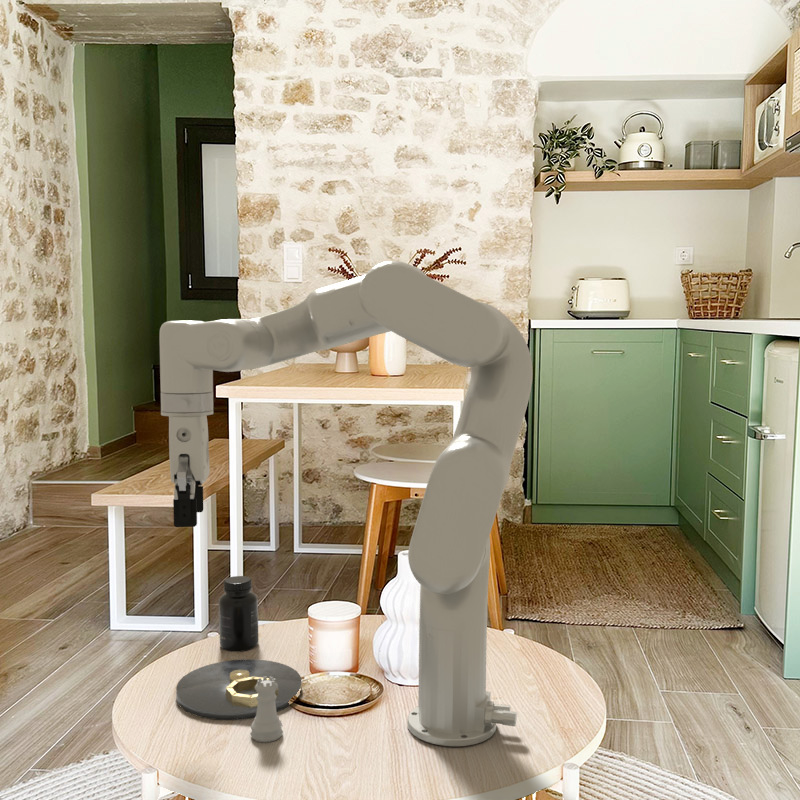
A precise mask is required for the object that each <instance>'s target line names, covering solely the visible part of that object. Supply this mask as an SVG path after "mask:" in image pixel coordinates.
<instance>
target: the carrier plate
mask: <svg viewBox="0 0 800 800" xmlns="http://www.w3.org/2000/svg"><path fill="white" fill-rule="evenodd" d="M266 676H267V680H269V677H273V679H274V678H275V679H276V683H277V684H278V688H277V690H276V691H275V695H276V696H277V698H276V699H275V705H276V712H280V711H281V710H284V709H286V708H288V707H290V706H291V705H289V703H288V702H289V700H290V699H291V698H292V697H293V696H294V695H296V694H297V692H298V691H299V689H300V687H301V688H302V677H301V675H300V673H299V672H298V671H297V670H295V669H294V668H292V666H289V665H287V664H284V663H282V662H281V663H280V662H277V661H271V660H267V659H265V660H264V659H255V658H254V659H251V658H250V659H249V658H248V659H243V658H242V659H231V660H226V661H225V660H224V661H219V662H214V663H211V664H207V665H204V666H201V667H198V668H196V669H194V670H192V671H190V672H188V673H187V674H185V675H184V676H183V677H181V679H180V680H178V683H177V684H176V687H175V689H176V691H175V693H176V698H177V699H176V698H175V699H176V702H178V703H177V705H178V704H179V705H180V706H181V707H180V706H179V705H178V706H179V707H180V708H181V709H182V708H183V709H184V711H185V712H186V713H188V712H189V713H188V714H190V713H191V715H194V716H196V715H197V717H199V716H200V717H199V718H203V719H210V720H220V721H221V720H222V721H236V720H237V721H238V720H247V719H249V720H250V719H254V718H255V717H256V714H257V707H258V700H257V699H256V697H257V696H258V692H257V691H256V690H255V688H254V687H255V686H256V684H257V681H258V679H259V678H262V680H263V677H266ZM183 709H182V710H183Z"/></svg>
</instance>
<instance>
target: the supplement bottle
mask: <svg viewBox="0 0 800 800" xmlns="http://www.w3.org/2000/svg"><path fill="white" fill-rule="evenodd" d="M252 590H253V585H252V578H251V577H249V576H245V575H241V576H240V575H236V576H230V577H227V578H225V579H223V592H224V593H223V594H222V595H221V596H220V597H219V600H218V622H219V623H218V624H219V625H218V629H219V646H220V648H221V649H223V650H225V651H228V652H234V653H235V652H244V651H250V650H251V649H254V648H255V647H257V646H258V643H259V607H258V606H259V605H258V604H259V603H258V602H259V601H258V596H257V594H255V593H254V592H253V591H252Z"/></svg>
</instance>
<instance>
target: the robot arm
mask: <svg viewBox="0 0 800 800" xmlns="http://www.w3.org/2000/svg"><path fill="white" fill-rule="evenodd" d="M388 332H390V333H391V332H392V333H394V334H396V335H397V336H399V337H401V338H403V339H405V340H407V341H409V342H410V343H412V344H414V345H416V346H418V347H420V348H423V349H425V350H426V351H428V352H429V353H432V354H433V355H436V357H439V358H441V359H443V360H444V361H447V362H448V363H451V364H454V365H456V366H459V367H463V368H470V380H469V384H468V388H467V391H466V394H465V397H464V400H463V402H462V406H461V407H462V408H461V412H460V415H459V418H458V422H457V424H456V428H455V431H454V434H453V436H452V439H451V441H450V443H449V444H448V445H447V447H446V448H445V449H444V450H443V451H442V452H441V453H440V454H439V455H438V457H437V458H436V461H435V463H434V464H433V466H432V470H431V472H430V474H429V478H428V481H427V483H426V484H427V485H426V487H425V491H424V495H423V497H422V501H421V505H420V507H419V511H418V515H417V517H416V521H415V524H414V528H413V532H412V534H411V535H412V536H411V537H410V542H409V545H408V554H407V556H408V557H407V558H408V559H407V560H408V564H409V565H408V566H409V569H410V572H411V574H412V576H413V578H415V580H416V581H417V582H418V583H419V584H420V589H419V591H420V592H419V618H418V619H419V620H418V621H419V622H418V624H419V625H418V627H419V629H418V705H417V706H416V707H414V708H413V709H412V710H411V711H410V712H409V713H408V715H407V723H406V724H407V728H408V730H409V732H410V733H411V734H412V735H413V736H415V737H416V738H418V739H419V740H421V741H423V742H426V743H428V744H433V745H437V746H443V747H467V746H472V745H476V744H480V743H483V742H484V741H487V740H488V739H490V738H491V737H492V736H493V735H494V734H495V733H496V729H497V724H498V725H502V726H509V727H516V726H517V717H518V716H517V713H518V712H517V711H512V710H511V705H510V704H509V705H508V704H503V703H502V704H499V703H498V704H497V703H495V702H494V701H491V691H487V637H488V635H487V634H488V631H487V630H488V627H487V626H488V603H489V602H488V599H489V597H488V596H489V578H490V577H489V576H490V560H491V559H490V558H491V537H490V534H491V532H492V529H493V526H494V522H495V520H496V519H495V518H496V516H497V512H498V509H499V506H500V503H501V500H502V497H503V493H504V491H505V489H506V487H507V485H508V482H509V479H510V474H511V473H510V472H511V466H512V462H513V457H514V454H515V449H516V447H517V443H518V440H519V438H520V433H521V430H522V426H523V421H524V418H525V415H526V411H527V407H528V405H529V404H528V403H529V399H530V396H531V390H532V384H533V374H534V373H533V364H532V356H531V352H530V350H529V347H528V344H527V341H526V340H525V337H524V336H523V334H522V333H521V331H520V329H519V328H518V327H517V326H516V325H515V323H514V322H513V321H512V320H511V319H509V317H507V315H505V314H504V313H503V312H502V311H500V310H499V309H498V308H497V307H495V306H493V305H491V304H488V303H485V302H479V301H477V300H475V299H473V298H471V297H469V296H468V295H466V294H463V293H461V292H460V291H457V290H455V289H453V288H451V287H449V286H447V285H445V284H443V283H441V282H439V281H438V280H435V279H433V278H432V277H430V276H428V275H427V274H426V273H425V272H423V270H421V269H420V268H418V267H416V266H415V265H412V264H409V263H407V262H405V261H399V260H387V261H383V262H381V263H378V264H376V265H375V266H373V267H372V268H369V270H368V271H367V272H366V273H365V274H364V275H361V276H357V277H354V278H351V279H349V280H344V281H340V282H338V283H337V282H336V283H334V284H333V283H332V284H330V285H327V286H324V287H323V286H322V287H320V288H317V289H315V290H313V291H312V292H310V293H308V295H307V296H306V298H305V299H303V301H301V302H300V303H298V304H296V305H293V306H291V307H288V308H285V309H282V310H279V311H276V312H273V313H269V314H266V315H263V316H259V317H255V318H250V319H246V318H245V319H243V318H227V319H217V320H210V321H203V320H168V321H165V322H163V323H162V324H161V326H160V328H159V374H160V375H159V376H160V377H159V379H160V415H161V416H163V417H168V449H169V451H168V454H169V456H168V457H169V475H170V481H171V482H172V483H173V484H174V493H173V500H172V503H173V508H172V509H173V526H174V527H175V528H189V527H190V528H191V527H193V528H194V527H196V526H197V524H198V513H203V512H204V486H203V484H204V483H205V482H206V481H207V479H208V478H209V475H210V473H211V469H210V468H211V467H210V450H209V449H210V447H209V446H210V445H209V426H208V418H207V416H211V415H214V371H216V372H217V371H218V372H223V373H224V372H225V373H230V372H231V373H233V372H240V371H247V370H256V369H260V368H264V367H268V366H271V365H274V364H278V363H281V362H285V361H289V360H292V359H295V358H300V357H302V356H306V355H309V354H312V353H315V352H320V351H321V352H323V351H328V350H330V349H334V348H337V347H340V346H344V345H347V344H350V343H354V342H357V341H360V340H363V339H367V338H371V337H375V336H378V335H382V334H386V333H388Z"/></svg>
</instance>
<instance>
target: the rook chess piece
mask: <svg viewBox="0 0 800 800" xmlns="http://www.w3.org/2000/svg"><path fill="white" fill-rule="evenodd" d="M254 688H255V690H256V691H257V692H258V696H257V697H256V699H257V700H258V707H257V714H256V717H255V718H253V721H252V723H251V725H250V728H251V732H250V736H251V738H252V739H253V740H254V741H255V742H258V743H265V744H267V743H272V742H275V741H277V740H279V739H280V738H281V736H282V735H283V732H284V731H283V729H282V728H283V723H282V721H281V720H280V716H279V715H278V713H277V712H278V711H277V712H276V705H275V699H276V698H277V696H276V695H275V691H276V690H277V688H278V684H277V683H276V679H275V678H274V679H273V677H269V680H267V676H266V677H263V680H262V678H259V679H258V681H257V684H256V686H255V687H254Z"/></svg>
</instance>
